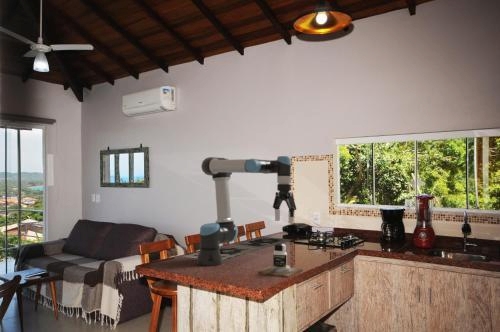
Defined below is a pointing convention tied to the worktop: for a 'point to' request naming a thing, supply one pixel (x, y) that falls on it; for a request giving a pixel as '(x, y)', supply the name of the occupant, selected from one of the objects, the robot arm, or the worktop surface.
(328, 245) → the worktop surface
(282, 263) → the medicine bottle
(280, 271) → the stand
